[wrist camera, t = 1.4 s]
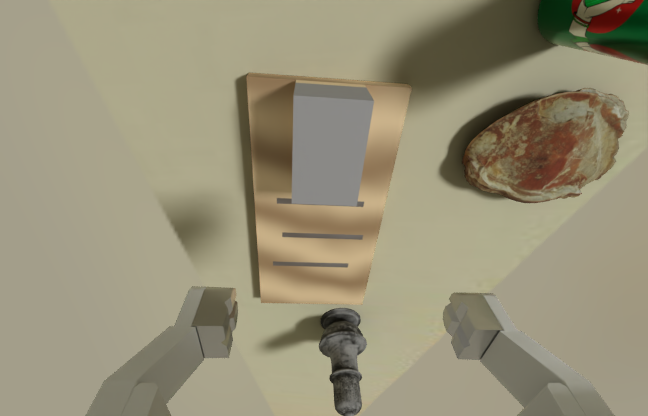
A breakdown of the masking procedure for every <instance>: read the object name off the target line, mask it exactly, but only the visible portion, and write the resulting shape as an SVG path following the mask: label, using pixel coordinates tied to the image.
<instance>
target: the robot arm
mask: <svg viewBox="0 0 648 416" xmlns="http://www.w3.org/2000/svg"><path fill="white" fill-rule="evenodd" d="M235 298H236V290H235V288H221V287H195V286H192V287H191V289H190V290H189V291H188V294H187V296H186V299H185V301H184V304H183V306H182V308H181V311H180V313H179V316H178V318H177V320H176V323H175V325H174V326H170V327H168V328H167V329H166V330H165V331H164V332H163V333H161V334H160V335H159V336H158V337H157V338H155V339H154V340H153V341H152V342H151V343H149V344H148V345H147V346H146V347H144V348H143V349H142V350H141V351H140V352H138V353H137V354H136V355H135V356H134V357H132V358H131V359H130V360H129V361H128V362H127V363H125V364H124V365H123V366H122V367H120V368H119V369H118V370H117V371H116V372H114V374H112V375H111V376H110V377H108V378H107V379H106V380H105V381H104V382H103V384H102V386H101V388H100V390H99V391H98V393H97V395H96V397H95V399H94V401H93V403H92V405H91V406H90V408H89V410H88V412H87V414H86V416H171V414H170V412H169V410H168V408H167V405H166V404H167V403H168V401H169V400H170V399H171V398H172V397H173V396H174V394H175V393H176V392H177V391H178V390H179V389H180V387H181V386H182V385H183V384H184V383H185V381H186V380H187V379H188V378H189V377H190V375H191V374H192V373H193V372H194V371H195V370H196V369H197V367H198V366H199V365H200V364H201V363H202V361H203V360H204V358H229V355H230V350H231V345H232V341H233V338H232V331H233V330H234V329H235V328H236V323H237V316H238V304H237V302H236V301H235ZM449 300H450V302H451V303H450V304H449V305H447V306H446V307H445V309H444V312H443V322H444V326H445V328H446V331H447V332H448V333H449V334H450V335H451V336H452V341H451V343H452V346H453V348H454V351H455V353H456V355H457V358H458V359H472V360H480V362H482V364H483V365H484V366H485V367H486V368H487V369H488V370H489V371H490V372H491V373H492V374H493V375H494V376H495V377H496V378H497V379H498V380H499V381H500V383H501V384H502V385H503V386H504V387H505V388H506V389H507V390H508V391H509V392H510V393H511V394H512V395H513V396H514V397H515V398H516V399H517V400H518V401H519V403H520V404H521V405H522V406H523V407H524V409H523V410H522V411H521V412H520V413H519V414H518V415H517V416H615V415H614V414H613V413H612V411H611V410H610V409H609V407H608V406H607V404H606V403H605V402H604V400H603V399H602V398H601V396H600V395H599V393H598V392H597V391H596V390H595V388H594V386H593V385H592V384H591V382H590V381H588V380H587V379H586V378H584V377H583V376H581V375H580V374H579V373H577V372H576V371H575V370H574V369H572V368H571V367H570V366H568V365H567V364H565V363H564V362H563V361H561V360H560V359H559V358H557V357H556V356H555V355H553V354H552V353H551V352H549V351H548V350H547V349H545V348H544V347H543V346H541V345H540V344H538V343H537V342H536V341H534V340H533V339H532V338H530V337H529V336H528V335H526V334H525V333H524V332H522V331H518V330H517V329H516V327H515V325H514V324H513V322H512V321H511V319H510V317H509V316H508V314H507V313H506V311H505V309H504V308H503V307H502V305H501V303H500V301H499V300H498V298H497V297H496V295H494V294H493V293H453V294H451V296H450V298H449Z"/></svg>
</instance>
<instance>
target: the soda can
mask: <svg viewBox="0 0 648 416" xmlns="http://www.w3.org/2000/svg"><path fill="white" fill-rule="evenodd" d="M538 27H539V30H540V33H541V35H542V36H543V37H544V38H545V39H546V40H547V41H548V42H550V43H552V44H557V45H561V46H565V47H570V48H574V49H579V50H583V51H588V52H592V53H597V54H601V55H606V56H610V57H615V58H619V59H624V60H628V61H633V62H637V63H642V64H646V65H648V0H541V2H540V6H539V10H538Z"/></svg>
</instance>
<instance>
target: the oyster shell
mask: <svg viewBox="0 0 648 416" xmlns="http://www.w3.org/2000/svg"><path fill="white" fill-rule="evenodd" d="M628 116H629V112H628V111H627V110H626V109H625V106H624V102H623V101H621V100H619V98H618V97H617V96H615V95H612V94H604V93H602V92H599V91H596V90H595V89H592V88H583V89H580V90H578V91H574V92H564V93H559V94H554V95H550V96H547V97H543V98H540V99H537V100H535V101H532V102H530V103H528V104H526V105H524V106H522V107H520V108H518V109H516V110H514V111H513V112H511V113H510V114H508V115H506V116H504V117H502V118H500V119H499V120H497V121H495V122H494V123H492V124H491V125H490V126H488V127H487V128H486V129H484V130H483V131H482V132H480V133H479V134H478V135H477V136H476V137H475V138H474V139H473V140H472V141H471V142H470V143H469V145H468V147H467V148H466V150H465V154H464V157H463V160H462V163H463V164H464V165H465V170H464V171H465V177H466V179H467V181H468V182H469V184H470V185H473V186H475V187H478V188H479V189H481V190H482V191H486V192H490V193H497V194H499V195H502V196H505V197H507V198H509V199H512V200H515V201H518V202H522V203H538V202H545V201H550V200H553V199H558V198H567V197H577V196H579V195H580V194H582V193H581V191H580V189H581V188H582V187H583V186H585V185H586V184H588V183H590V182H592V181H594V180H598V179H599V178H601V176H602V175H603V174H605V173H606V172H607V171H608V170H609V169H611V168H612V166H613V165H614V164H615V162H616V160H615V158H614V156H615V155H616V154H617V151H618V149H619V144H618V138H620V137H621V136H622V134H623V132H624V130H625V128H626V120H627V118H628Z"/></svg>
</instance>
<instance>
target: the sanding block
mask: <svg viewBox="0 0 648 416" xmlns="http://www.w3.org/2000/svg"><path fill="white" fill-rule="evenodd" d="M373 105H374V100H373V98H372V96H371V94H370V93H369V91H368V89H367V87H366V86H365V85H362V84H348V83H333V82H319V81H305V80H296V83H295V89H294V97H293V152H292V204H315V205H339V206H357V202H358V196H359V190H360V184H361V178H362V172H363V166H364V159H365V153H366V147H367V141H368V135H369V129H370V123H371V117H372V111H373Z"/></svg>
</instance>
